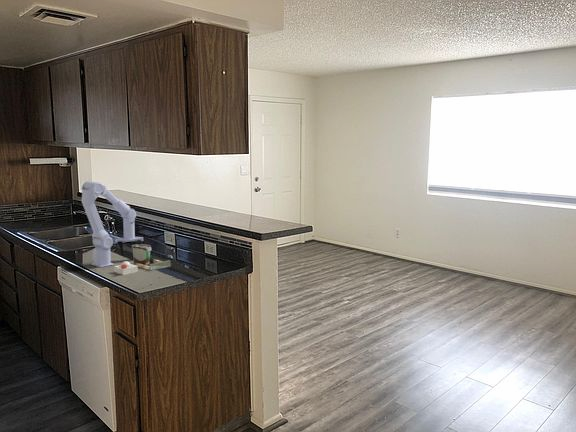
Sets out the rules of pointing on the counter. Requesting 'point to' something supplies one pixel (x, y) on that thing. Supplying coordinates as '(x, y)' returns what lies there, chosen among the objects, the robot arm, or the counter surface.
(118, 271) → the dome housing
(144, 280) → the counter surface
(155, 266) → the bracket
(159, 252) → the counter surface
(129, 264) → the dome
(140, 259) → the food container
